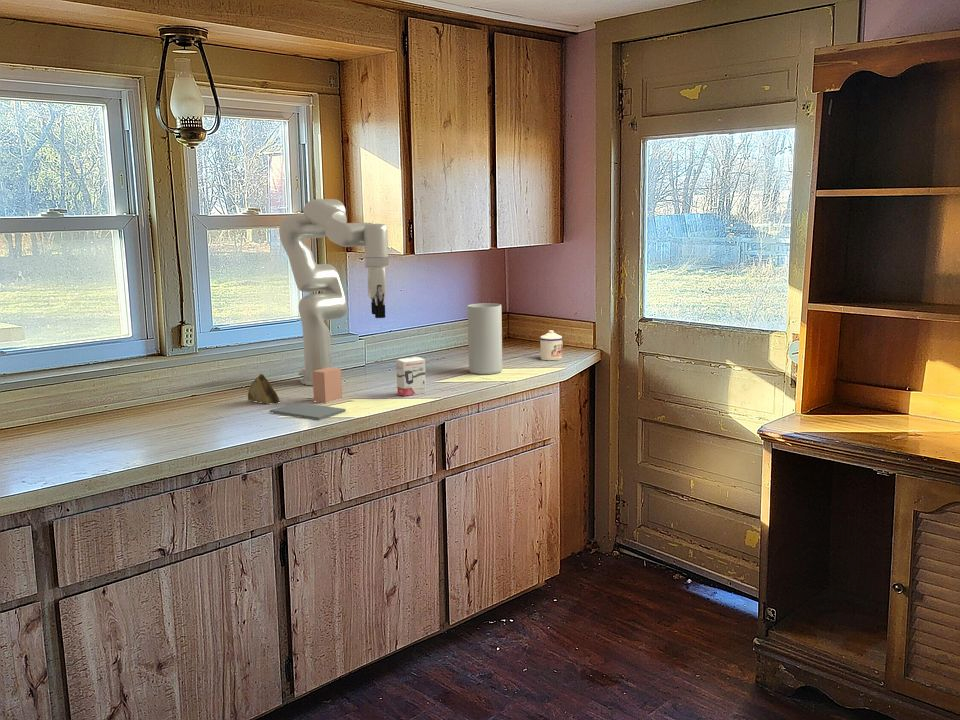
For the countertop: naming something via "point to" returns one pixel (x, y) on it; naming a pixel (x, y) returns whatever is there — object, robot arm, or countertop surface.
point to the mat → (308, 410)
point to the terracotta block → (327, 384)
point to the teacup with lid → (551, 346)
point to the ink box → (411, 376)
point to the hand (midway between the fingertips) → (378, 315)
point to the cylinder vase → (485, 338)
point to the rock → (262, 391)
